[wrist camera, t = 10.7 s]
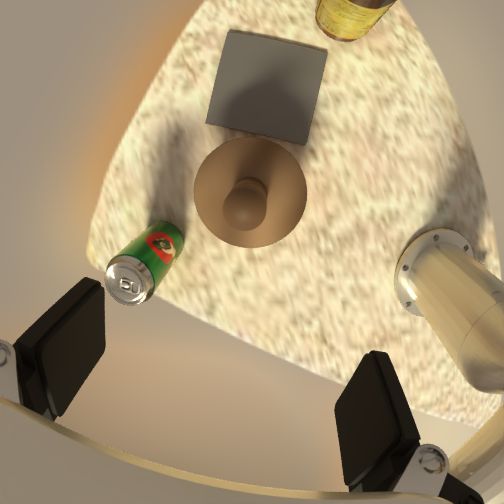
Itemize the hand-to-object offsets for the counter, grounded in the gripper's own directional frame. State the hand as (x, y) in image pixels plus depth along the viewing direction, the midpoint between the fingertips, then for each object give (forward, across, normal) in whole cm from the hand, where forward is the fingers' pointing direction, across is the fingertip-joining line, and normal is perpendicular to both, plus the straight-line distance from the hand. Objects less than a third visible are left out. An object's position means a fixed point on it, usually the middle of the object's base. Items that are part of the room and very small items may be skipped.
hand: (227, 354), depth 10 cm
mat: (+26, +2, -12) cm, 29 cm away
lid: (+21, +1, -1) cm, 21 cm away
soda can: (+27, +10, +8) cm, 29 cm away
